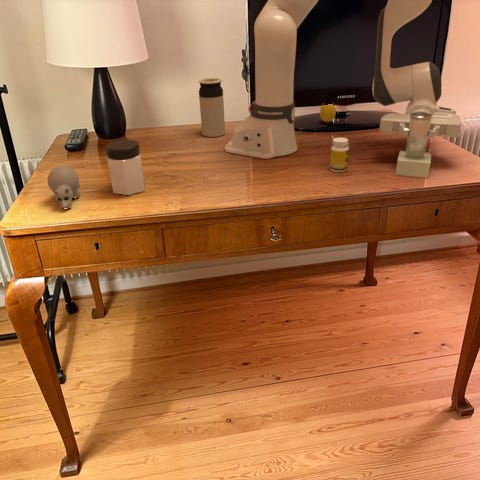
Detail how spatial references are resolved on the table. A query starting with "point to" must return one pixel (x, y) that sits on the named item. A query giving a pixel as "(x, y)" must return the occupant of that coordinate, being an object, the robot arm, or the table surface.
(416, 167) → the block
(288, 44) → the robot arm
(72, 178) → the round bodied animal figurine
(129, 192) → the jar
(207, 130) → the travel mug
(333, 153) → the supplement bottle
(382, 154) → the table surface
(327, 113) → the lemon
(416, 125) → the clear glass canister
